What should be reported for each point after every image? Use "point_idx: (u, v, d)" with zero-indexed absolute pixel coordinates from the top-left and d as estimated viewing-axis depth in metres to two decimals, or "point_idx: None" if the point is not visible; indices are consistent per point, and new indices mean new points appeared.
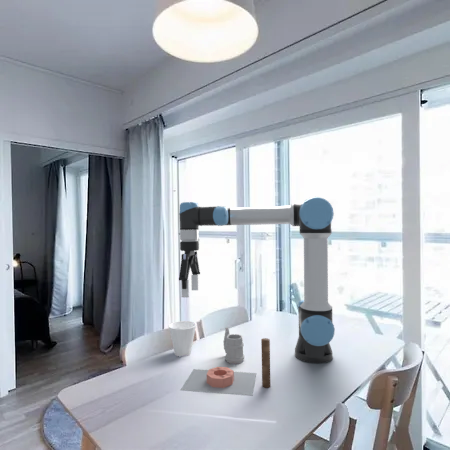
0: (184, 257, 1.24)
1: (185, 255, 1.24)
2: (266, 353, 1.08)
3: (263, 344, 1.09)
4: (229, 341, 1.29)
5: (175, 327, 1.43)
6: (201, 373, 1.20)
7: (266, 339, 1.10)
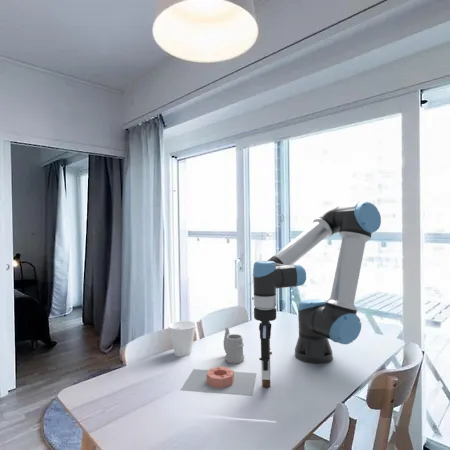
0: (264, 337, 1.04)
1: (265, 335, 1.03)
2: None
3: None
4: (229, 341, 1.29)
5: (175, 327, 1.43)
6: (201, 373, 1.20)
7: None
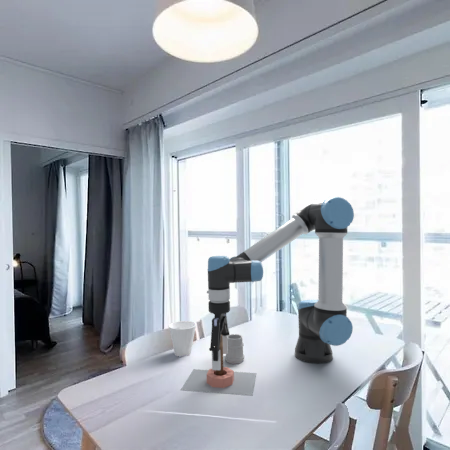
0: (215, 323, 1.07)
1: (216, 321, 1.07)
2: None
3: None
4: (229, 341, 1.29)
5: (175, 327, 1.43)
6: (201, 373, 1.20)
7: None
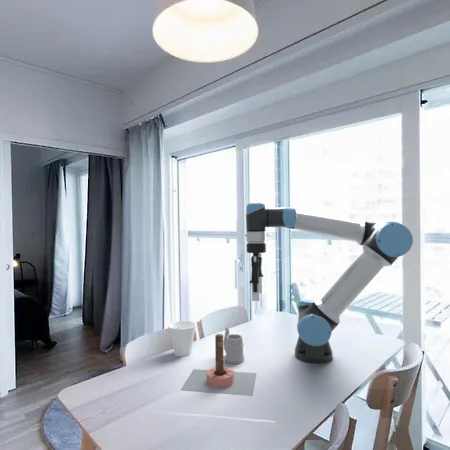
0: (254, 259, 1.20)
1: (255, 257, 1.21)
2: (219, 348, 1.12)
3: (216, 340, 1.12)
4: (229, 341, 1.29)
5: (175, 327, 1.43)
6: (201, 373, 1.20)
7: (220, 335, 1.14)
